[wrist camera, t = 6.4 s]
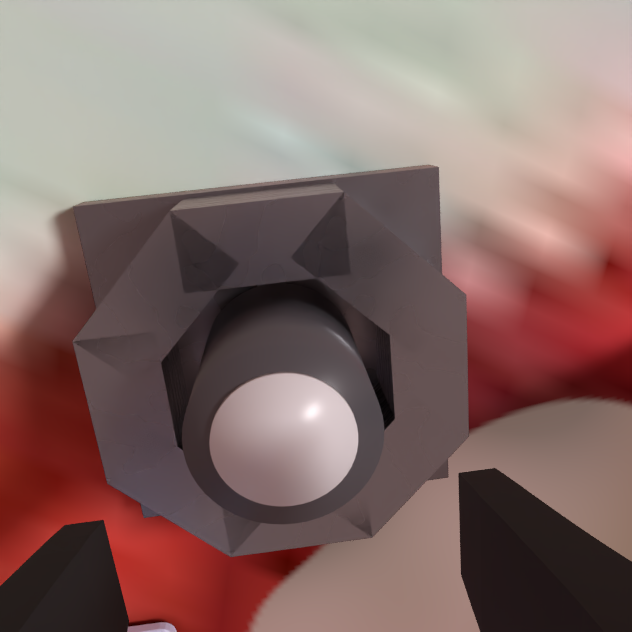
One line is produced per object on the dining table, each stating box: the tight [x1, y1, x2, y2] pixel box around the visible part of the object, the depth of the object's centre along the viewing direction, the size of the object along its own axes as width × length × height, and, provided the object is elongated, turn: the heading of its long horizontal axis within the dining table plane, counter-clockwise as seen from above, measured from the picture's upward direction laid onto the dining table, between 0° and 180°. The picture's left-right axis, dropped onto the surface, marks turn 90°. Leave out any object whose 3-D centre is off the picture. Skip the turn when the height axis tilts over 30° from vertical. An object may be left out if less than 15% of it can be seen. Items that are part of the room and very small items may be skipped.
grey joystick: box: [72, 165, 469, 557], centre depth 17 cm, size 10×10×4 cm
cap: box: [182, 283, 384, 525], centre depth 15 cm, size 4×4×5 cm
